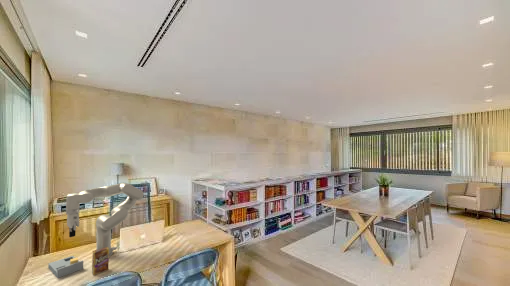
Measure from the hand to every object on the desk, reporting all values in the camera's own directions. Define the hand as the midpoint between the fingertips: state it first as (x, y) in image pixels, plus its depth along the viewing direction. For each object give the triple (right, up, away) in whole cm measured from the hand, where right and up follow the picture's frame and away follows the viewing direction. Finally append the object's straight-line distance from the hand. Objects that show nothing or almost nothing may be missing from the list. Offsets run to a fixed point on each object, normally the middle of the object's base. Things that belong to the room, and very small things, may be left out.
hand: (72, 236), depth 162 cm
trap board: (-2, -21, -3) cm, 21 cm away
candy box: (+25, -22, -7) cm, 34 cm away
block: (+5, -18, -5) cm, 19 cm away
